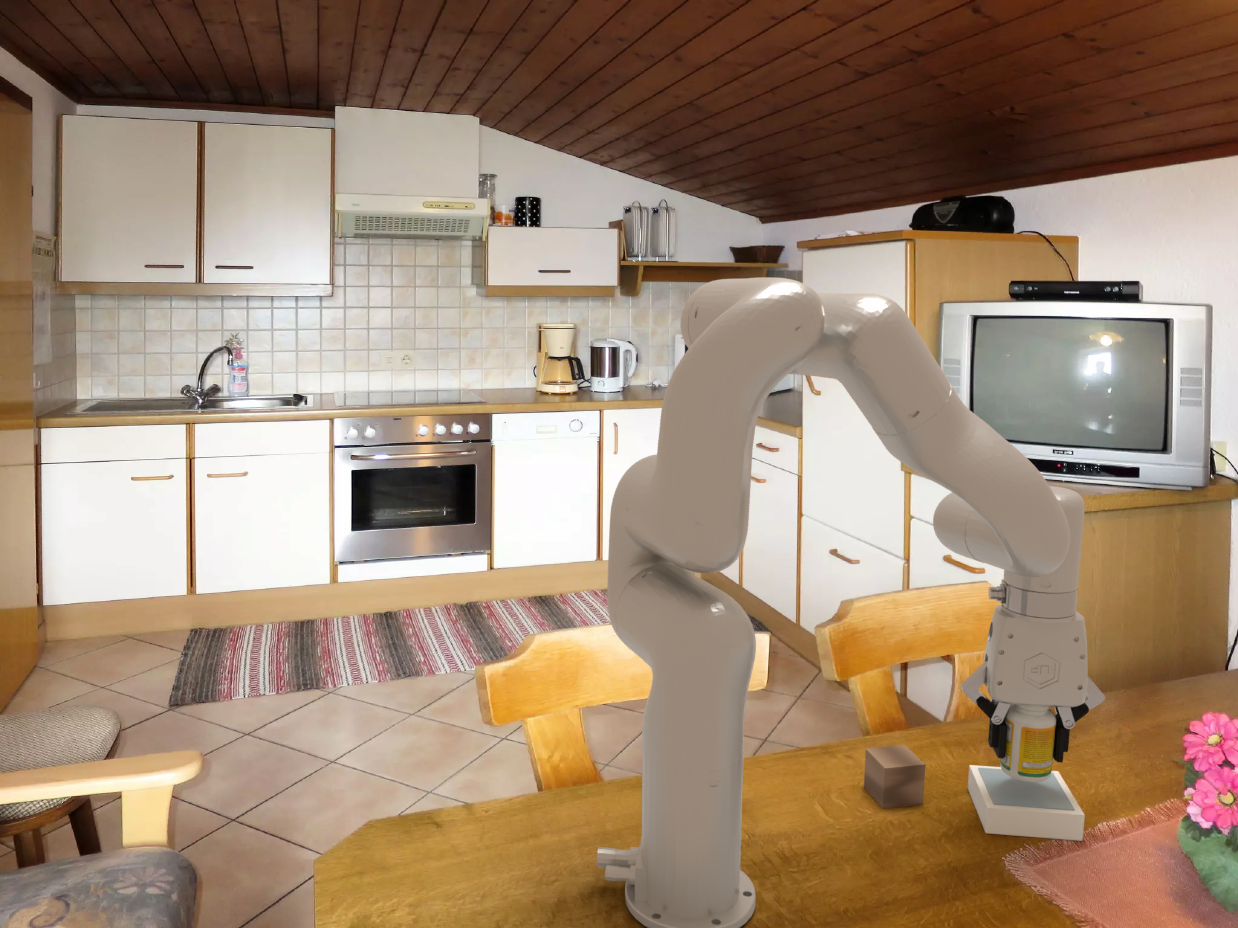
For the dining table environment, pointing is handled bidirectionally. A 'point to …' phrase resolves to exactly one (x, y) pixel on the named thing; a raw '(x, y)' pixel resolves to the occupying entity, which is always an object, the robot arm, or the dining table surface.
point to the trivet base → (1025, 805)
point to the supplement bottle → (1029, 742)
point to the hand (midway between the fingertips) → (1027, 753)
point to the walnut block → (894, 776)
